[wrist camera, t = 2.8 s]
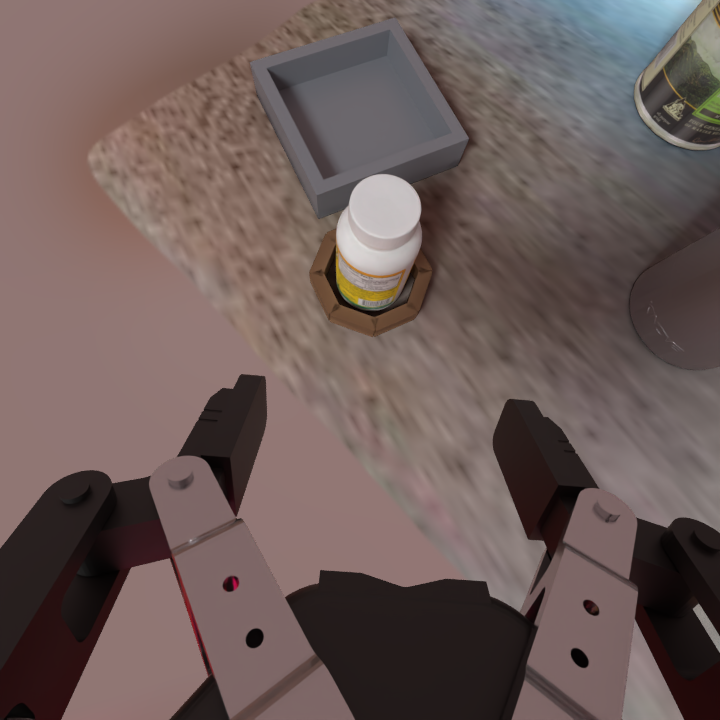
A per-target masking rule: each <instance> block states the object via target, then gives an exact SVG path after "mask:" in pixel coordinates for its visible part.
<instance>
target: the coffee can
mask: <svg viewBox="0 0 720 720" xmlns="http://www.w3.org/2000/svg"><path fill="white" fill-rule="evenodd" d="M634 101H635V103H636V108H637V110H638V113H639V115H640V116H641V118H642V120H643V121H644V122H645V124H646V125H647V126H648V127H649V128H650V129H651V130H652V131H653V132H654V133H655V134H656V135H657V136H659V137H660V138H662V139H663V140H665V141H667V142H669V143H671V144H673V145H675V146H678V147H681V148H684V149H689V150H709V149H714V148H716V147H719V146H720V0H702V1H701V3H700V4H699V5H698V6H697V8H696V9H695V10H694V11H693V12H692V14H691V15H690V16H689V17H688V18H687V20H686V21H685V22H684V23H683V24H682V26H681V27H680V28H679V29H678V30H677V32H676V33H675V34H674V35H673V37H672V38H671V39H670V40H669V41H668V43H667V44H666V45H665V46H664V48H663V49H662V50H661V51H660V53H659V54H658V55H657V56H656V57H655V59H654V60H653V61H652V62H651V63H650V65H649V66H648V67H647V68H646V69H645V70H644V71H643V72H642V73H641V74H640V76H639V77H638V79H637V81H636V84H635V88H634Z"/></svg>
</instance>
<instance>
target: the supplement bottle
mask: <svg viewBox="0 0 720 720" xmlns="http://www.w3.org/2000/svg"><path fill="white" fill-rule="evenodd" d="M420 216H421V202H420V198H419V196H418V194H417V192H416V191H415V189H414V188H413V187H412V186H411V185H410V184H409V183H408V182H406V181H405V180H403V179H401V178H399V177H397V176H393V175H389V174H377V175H372V176H370V177H367V178H365V179H364V180H362V181H361V182H360V183H358V184H357V186H356V187H355V188H354V190H353V191H352V194H351V196H350V200H349V205H348V206H347V207H346V209H345V210H344V211H343V213H342V214H341V216H340V218H339V221H338V224H337V230H336V282H337V288H338V290H339V292H340V294H341V296H342V297H343V298H344V300H345V301H346V302H348V303H349V304H350V305H352V306H353V307H355V308H357V309H360V310H364V311H378V310H382V309H385V308H387V307H388V306H390V305H391V304H393V303H394V302H395V301H396V300H397V299H398V297H399V296H400V294H401V292H402V290H403V288H404V285H405V283H406V281H407V278H408V276H409V274H410V271H411V269H412V267H413V264H414V262H415V260H416V257H417V255H418V253H419V250H420V247H421V243H422V229H421V225H420V222H419V219H420Z"/></svg>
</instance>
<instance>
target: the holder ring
mask: <svg viewBox="0 0 720 720" xmlns="http://www.w3.org/2000/svg"><path fill="white" fill-rule="evenodd" d="M336 230H337V229H334V230H332V231H329V232H327V234H325V237H324V239H323V241H322V244H321V246H320V248H319V251H318V253H317V255H316V258H315V260H314V262H313V265H312V267H311V270H310V272H309V273H310V281H311V284H312V286H313V288H314V290H315V293H316V295H317V297H318V299H319V301H320V303H321V305H322V307H323V309H324V311H325V314H326V316H327V318H328V320H330V322H332V323H335V324H338V325H340V326H343V327H346V328H349V329H351V330H354V331H357V332H360V333H363V334H365V335H368V336H371V337H373V335H374V337H375V336H378V335H380V334H382V333H384V332H387V331H389V330H391V329H393V328H396V327H398V326H400V325H403V324H405V323H407V322H409V321H412V320H414V318H415V317H416V316H417V314H418V313H419V310H420V307H421V305H422V302H423V299H424V296H425V293H426V290H427V287H428V284H429V281H430V278H431V275H432V268H431V266H430V264H429V262H428V261H427V259H426V257H425V255H424V253H423V252H422V250H421V248H420V250H419V253H418V255H417V257H416V260H415V262H414V264H413V267H412V269H411V273H412V275H413V277H414V279H415V280H414V283H413V286H412V289H411V292H410V295H409V298H408V300H407V303H406V304H404V305H402V306H399V307H397V308H395V309H392V310H390V311H388V312H386V313H383V314H381V315H379V316H376V317H372V316H369V315H367V314H364V313H361V312H358V311H356V310H353V309H350V308H347V307H344V306H342V305H339V303H338V301H337V299H336V297H335V295H334V293H333V291H332V289H331V287H330V285H329V283H328V281H327V279H326V276H327V274H328V271H329V269H330V266H331V264H332V261H333V259H334V257H335V254H336Z"/></svg>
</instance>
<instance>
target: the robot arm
mask: <svg viewBox="0 0 720 720" xmlns="http://www.w3.org/2000/svg"><path fill="white" fill-rule="evenodd" d="M630 313H631V317H632V321H633V324H634V327H635V329H636V331H637V332H638V334H639V336H640V338H641V339H642V340H643V342H644V343H645V344H646V346H647V347H648V348H649V349H650V350H651V351H652V352H654V353H655V354H656V355H657V356H658V357H660V358H661V359H663V360H665V361H666V362H668V363H670V364H672V365H675V366H677V367H680V368H685V369H690V370H705V369H709V368H714V367H719V366H720V228H719V229H717V230H715V231H713V232H712V233H710V234H708V235H706V236H705V237H703V238H701V239H699V240H698V241H696V242H694V243H692V244H690V245H688V246H687V247H685V248H683V249H681V250H680V251H678V252H676V253H674V254H673V255H671V256H669V257H668V258H666V259H664V260H662V261H661V262H659V263H657V264H655V265H654V266H652V267H650V268H648V269H647V270H646V271H645V272H643V273H642V274H641V275H640V277H639V278H638V279H637V281H636V282H635V284H634V286H633V289H632V291H631V297H630ZM266 402H267V401H266V380H265V376H256V375H244V374H241V375H240V376H239V378H238V381H237V383H236V384H235V386H234V388H233V389H226V388H222V389H221V390H220V391H218V392H217V393H216V394H214V395H213V396H212V397H211V398H210V399H209V401H208V403H207V405H206V406H205V408H204V411H203V412H202V414H201V415H200V417H199V420H198V421H197V422H196V424H195V426H194V428H193V430H192V431H191V433H190V435H189V437H188V438H187V440H186V442H185V444H184V446H183V447H182V449H181V451H180V453H179V454H178V456H177V457H176V458H173V459H171V460H168V461H166V462H165V463H163V464H162V465H160V466H159V467H158V468H157V469H156V470H155V471H154V472H153V474H152V475H151V476H149V477H145V478H141V479H136V480H130V481H124V482H118V483H112V482H111V479H110V478H109V476H108V475H106V474H105V473H103V472H100V471H94V470H90V471H81V472H78V473H74V474H71V475H68V476H66V477H64V478H62V479H60V480H59V481H57V482H56V483H54V484H53V485H52V486H50V487H49V488H48V489H47V490H46V491H45V492H44V494H43V495H42V496H41V498H40V499H39V500H38V501H37V503H36V504H35V505H34V507H33V508H32V509H31V510H30V511H29V513H28V514H27V515H26V517H25V518H24V519H23V521H22V522H21V523H20V524H19V525H18V527H17V528H16V529H15V531H14V532H13V533H12V534H11V536H10V537H9V538H8V540H7V541H6V542H5V543H4V545H3V546H2V547H1V548H0V720H61V719H62V716H63V714H64V712H65V710H66V708H67V706H68V703H69V701H70V699H71V697H72V695H73V693H74V690H75V688H76V686H77V684H78V682H79V680H80V677H81V675H82V673H83V671H84V669H85V667H86V664H87V662H88V660H89V658H90V656H91V653H92V651H93V649H94V647H95V645H96V643H97V640H98V638H99V636H100V634H101V632H102V630H103V627H104V625H105V623H106V621H107V619H108V617H109V614H110V612H111V610H112V608H113V606H114V603H115V601H116V599H117V597H118V595H119V593H120V590H121V588H122V586H123V584H124V582H125V580H126V577H127V575H128V573H129V571H130V569H131V567H135V566H139V565H143V564H147V563H151V562H155V561H160V560H164V559H168V558H170V561H171V564H172V567H173V570H174V573H175V576H176V579H177V582H178V585H179V588H180V591H181V594H182V597H183V600H184V603H185V606H186V609H187V612H188V615H189V618H190V622H191V625H192V628H193V631H194V634H195V638H196V641H197V644H198V647H199V650H200V653H201V657H202V659H203V662H204V666H205V669H206V671H207V675H208V678H207V679H206V680H205V681H204V682H203V683H202V684H201V686H200V687H199V688H198V689H197V690H196V691H195V692H194V693H193V694H192V696H191V697H190V698H189V699H188V700H187V701H186V702H185V703H184V704H183V705H182V706H181V708H180V709H179V710H178V711H177V712H176V713H175V714H174V715H173V716H172V718H171V719H170V720H622V712H623V704H624V696H625V689H626V681H627V673H628V666H629V658H630V650H631V643H632V635H633V627H634V620H636V622H637V624H638V626H639V628H640V630H641V632H642V634H643V636H644V638H645V640H646V642H647V644H648V647H649V649H650V651H651V653H652V655H653V657H654V659H655V661H656V663H657V665H658V667H659V669H660V671H661V673H662V675H663V677H664V679H665V681H666V683H667V685H668V687H669V689H670V691H671V694H672V696H673V698H674V700H675V702H676V704H677V706H678V708H679V710H680V712H681V714H682V716H683V718H684V720H720V653H719V651H718V650H717V648H716V646H715V645H714V643H713V641H712V640H711V638H710V637H709V635H708V633H707V632H706V630H705V628H704V627H703V625H702V624H701V622H700V620H699V619H698V617H697V616H696V614H695V612H694V611H693V608H694V607H695V606H696V605H697V604H700V606H701V607H702V609H703V610H704V612H705V613H706V615H707V616H708V618H709V620H710V621H711V623H712V624H713V626H714V627H715V629H716V631H717V632H718V634H719V636H720V533H719V532H717V531H716V530H715V529H713V528H711V527H710V526H708V525H706V524H704V523H702V522H700V521H697V520H694V519H690V518H677V519H675V520H674V521H673V522H672V523H671V524H670V526H669V527H668V528H666V527H663V526H660V525H657V524H654V523H651V522H648V521H645V520H642V519H639V518H636V517H635V514H634V513H633V511H632V510H631V509H630V508H629V506H628V505H627V504H626V503H624V502H623V501H622V500H621V499H619V498H618V497H616V496H615V495H613V494H611V493H609V492H607V491H604V490H601V489H599V487H598V486H597V484H596V483H595V481H594V480H593V478H592V476H591V475H590V473H589V472H588V470H587V469H586V467H585V465H584V464H583V462H582V461H581V459H580V458H579V456H578V454H575V450H574V448H573V447H572V445H571V444H570V443H569V440H568V439H567V437H566V436H565V434H564V432H563V431H562V429H561V428H560V427H559V426H557V425H556V424H555V423H554V422H553V421H552V420H551V419H549V418H548V417H543V415H542V414H541V412H540V410H539V409H538V407H537V405H536V404H535V402H533V401H528V400H517V399H509V400H507V402H506V403H505V406H504V408H503V411H502V414H501V416H500V419H499V421H498V424H497V427H496V429H495V432H494V435H493V449H494V453H495V455H496V458H497V461H498V463H499V466H500V468H501V471H502V473H503V476H504V479H505V481H506V484H507V486H508V489H509V491H510V494H511V497H512V499H513V502H514V504H515V507H516V509H517V512H518V515H519V517H520V520H521V522H522V525H523V528H524V530H525V533H526V535H527V538H528V539H529V540H542V541H544V542H545V545H546V547H547V548H546V549H545V551H544V553H543V554H542V557H541V560H540V562H539V565H538V567H537V570H536V573H535V575H534V578H533V580H532V583H531V586H530V588H529V591H528V593H527V596H526V599H525V601H524V603H523V606H522V608H521V610H520V612H518V611H517V610H515V609H514V608H512V607H511V606H509V605H507V604H506V603H504V602H502V601H500V600H498V599H496V598H493V597H490V594H489V591H488V587H487V583H486V582H484V581H470V580H455V579H443V580H438V581H434V582H429V583H425V584H420V585H415V586H411V587H401V586H398V585H395V584H392V583H389V582H386V581H383V580H381V579H378V578H375V577H372V576H369V575H366V574H362V573H353V572H339V571H324V570H321V571H320V578H319V583H318V584H314V585H309V586H307V587H304V588H301V589H299V590H297V591H295V592H293V593H291V594H289V595H288V596H286V597H284V595H283V593H282V591H281V589H280V587H279V585H278V584H277V582H276V580H275V578H274V576H273V574H272V572H271V571H270V569H269V567H268V565H267V563H266V561H265V559H264V557H263V555H262V553H261V551H260V550H259V548H258V546H257V544H256V542H255V540H254V538H253V537H252V534H251V533H250V531H249V529H248V527H247V525H246V524H245V522H244V521H243V520H242V519H241V518H240V519H237V518H236V516H237V514H238V511H239V508H240V505H241V502H242V499H243V496H244V493H245V490H246V487H247V483H248V480H249V477H250V474H251V471H252V468H253V465H254V462H255V459H256V456H257V453H258V450H259V447H260V444H261V441H262V437H263V434H264V431H265V427H266V420H267V403H266Z"/></svg>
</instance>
